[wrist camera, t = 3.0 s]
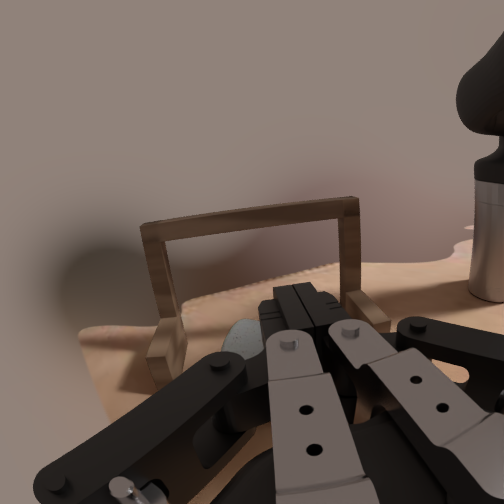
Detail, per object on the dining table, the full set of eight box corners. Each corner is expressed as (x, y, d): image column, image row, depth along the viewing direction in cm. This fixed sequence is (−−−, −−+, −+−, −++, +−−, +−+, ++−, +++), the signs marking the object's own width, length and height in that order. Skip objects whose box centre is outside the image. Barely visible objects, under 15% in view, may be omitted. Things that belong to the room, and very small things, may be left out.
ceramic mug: (311, 429, 22) (312, 359, 20) (224, 411, 25) (208, 345, 23) (335, 358, 31) (336, 296, 29) (265, 351, 34) (259, 292, 32)
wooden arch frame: (172, 344, 37) (144, 223, 33) (353, 317, 38) (352, 196, 34) (159, 395, 28) (113, 245, 23) (386, 359, 28) (395, 208, 24)
